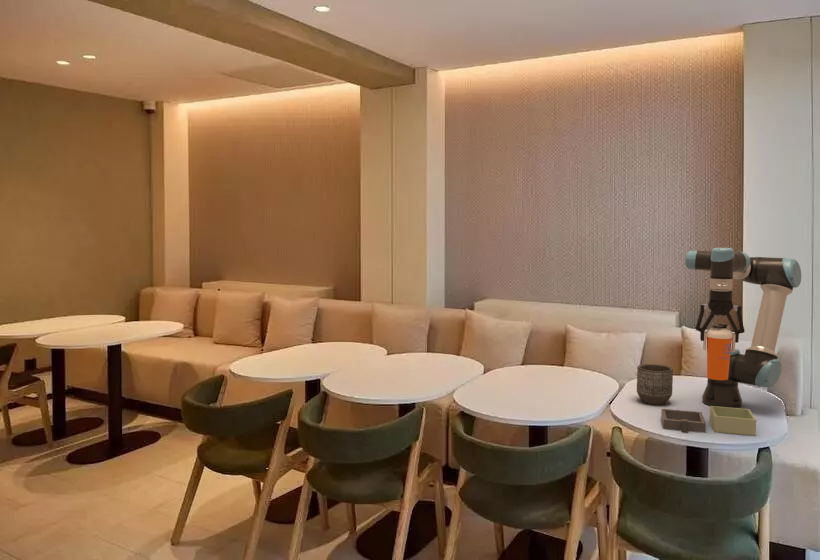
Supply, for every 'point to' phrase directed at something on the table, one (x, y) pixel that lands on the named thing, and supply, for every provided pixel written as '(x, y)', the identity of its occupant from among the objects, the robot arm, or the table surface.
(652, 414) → the table surface
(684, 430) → the collar
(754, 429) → the sage holder
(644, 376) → the planter
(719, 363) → the shaker bottle
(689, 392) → the table surface
